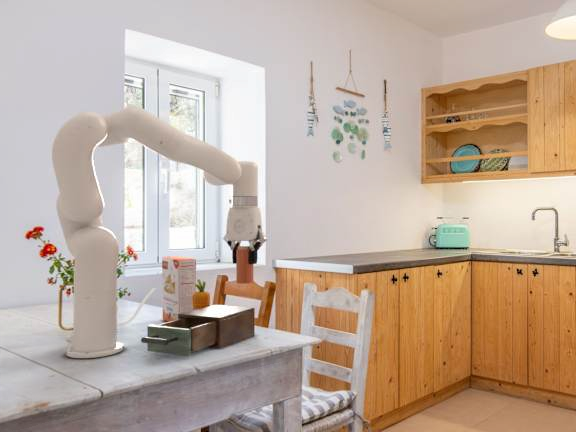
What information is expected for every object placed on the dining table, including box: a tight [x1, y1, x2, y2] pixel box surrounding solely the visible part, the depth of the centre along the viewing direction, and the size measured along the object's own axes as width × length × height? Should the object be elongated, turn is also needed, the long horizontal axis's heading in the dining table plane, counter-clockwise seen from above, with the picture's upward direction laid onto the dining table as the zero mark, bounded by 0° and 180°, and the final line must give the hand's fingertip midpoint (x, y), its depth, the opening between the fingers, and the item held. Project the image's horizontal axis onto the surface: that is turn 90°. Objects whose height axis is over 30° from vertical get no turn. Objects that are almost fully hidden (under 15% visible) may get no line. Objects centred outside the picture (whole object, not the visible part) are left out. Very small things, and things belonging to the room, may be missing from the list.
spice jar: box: [235, 244, 254, 285], centre depth 158 cm, size 5×5×11 cm
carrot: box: [193, 279, 211, 310], centre depth 159 cm, size 5×5×15 cm
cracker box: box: [161, 255, 197, 322], centre depth 168 cm, size 14×6×21 cm, turn 42°
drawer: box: [140, 317, 218, 357], centre depth 133 cm, size 19×12×6 cm, turn 160°
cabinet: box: [178, 304, 256, 350], centre depth 146 cm, size 16×14×8 cm
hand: (244, 262), depth 158 cm, fingers closed on spice jar, 5 cm apart
